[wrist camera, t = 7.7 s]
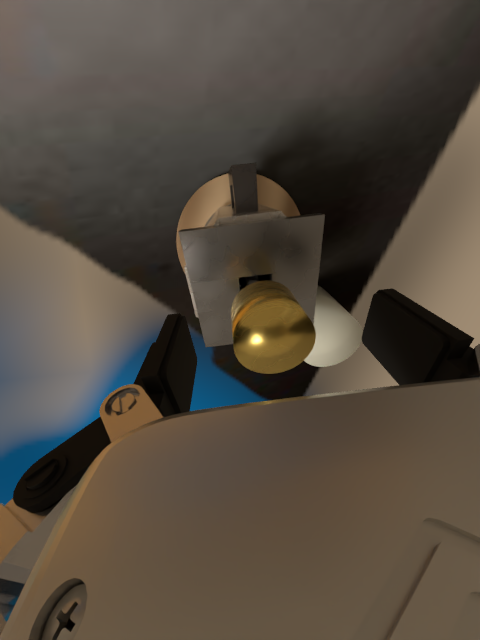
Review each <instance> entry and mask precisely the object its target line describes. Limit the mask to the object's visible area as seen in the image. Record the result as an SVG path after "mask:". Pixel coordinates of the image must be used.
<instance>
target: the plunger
mask: <svg viewBox="0 0 480 640" xmlns="http://www.w3.org/2000/svg"><path fill="white" fill-rule="evenodd" d="M265 275H266V274H264V275H256V276H247V277H239V285H248V286H246V287H245V288H243V289H242V290H241V291H240V292H239V293H238V294H237V296H236V297H235V299H234V300H233V303H232V307H231V321H232V333H233V345H234V352H235V355H236V357H237V359H238V360H239V362H240V363H241V364H242V365H244V366H245V367H246V368H248V369H250V370H252V371H255V372H259V373H265V374H272V373H279V372H283V371H286V370H289V369H291V368H293V367H295V366H297V365H298V364H300V363H301V362H302V361H303V360H305V359H306V357H307V356H308V355H309V354H310V352H311V351H312V349H313V347H314V344H315V340H316V331H315V327H314V325H313V323H312V321H311V320H310V318H309V317H308V316H307V314H306V313H305V311H304V310H303V308H302V307H301V306H300V304H299V303H298V301H297V300H296V298H295V297H294V295H293V294H292V293H291V291H290V290H289V289H288V288H287V287H286V286H284V285H282V284H281V283H278V282H275V281H267V280H266V281H259V280H260V279H262V278H263V277H264V276H265Z"/></svg>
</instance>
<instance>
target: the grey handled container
mask: <svg viewBox="0 0 480 640" xmlns="http://www.w3.org/2000/svg"><path fill="white" fill-rule="evenodd" d="M228 177H229V187H230V196H231V204H229V205H226V206H224V207H219V208H218V210H217V211H216V212H215V213H214V214H213V215H212V216H211V217H210V218H209V220H208V221H207V223H206V224H205V226H204V227H198V228H190V229H182V230H180V231H179V232H178V233H179V237H180V241H181V246H182V250H183V254H184V258H185V262H186V265H185V267H184V269H185V274H186V278H187V282H188V286H189V290H190V294H191V298H192V302H193V306H194V310H195V314H196V317H198V318H199V321H200V325H201V329H202V333H203V338H204V342H205V345H206V347H211V346H219V345H227V344H233V333H232V321H231V307H232V303H233V300H234V299H235V297H236V296H237V294H238V293H239V292H240V291H241V290H242V289H243V288H245V287H246V286H248V285H239V277H247V276H256V275H264V274H266V275H265V276H264V277H263V278H262V279H260V280H259V281H266V280H267V281H275V282H278V283H281V284H282V285H284V286H286V287H287V288H288V289H289V290H290V291H291V293H292V294H293V295H294V297H295V298H296V300H297V301H298V303H299V304H300V306H301V307H302V308H303V310H304V311H305V313H306V314H307V316H308V317H309V318H310V320H311V321H312V323H313V324H314V315H315V305H316V295H317V286H318V276H319V267H320V257H321V248H322V238H323V228H324V219H325V214H320V213H316V214H307V215H299V216H290V217H286V216H285V215H284V214H283V213H282V211H279V210H276V209H273V208H270V207H267V206H264V205H261V204H258V195H257V174H256V163H248V164H240V165H231V167H230V170H229V172H228Z"/></svg>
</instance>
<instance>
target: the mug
mask: <svg viewBox="0 0 480 640" xmlns="http://www.w3.org/2000/svg"><path fill="white" fill-rule="evenodd" d="M313 325H314V327H315V331H316V340H315V344H314V347H313V349H312V351H311V352H310V354H309V355H308V356H307V357H306V359H305V360H304V361H305V362H307V363H308V364H310V365H313V366H318V367H325V366H331V365H335V364H338V363H340V362H342V361H344V360H346V359H347V358H348V357H350V356H351V355H352V354H353V353H354V352H355V351H356V350H357V349H358V347H359V346H360V344H361V341H362V334H363V330H362V327H361V325H360V323H359V322H358V321H357V320H356V319H355V318H354V317H353V316H352V315H350V314H349V313H348V312H347V311H346V310H345V309H344V308H343V307H342V306H341V305H340V304H339V303H338V302H337V301H336V300H335V299H334V298H333V297H332V296H331V295H330V294H328V293H327V292H326V291H325V290H324V289H323V288H322V287H320V286H317V295H316V305H315V315H314V324H313Z"/></svg>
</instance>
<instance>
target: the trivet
mask: <svg viewBox="0 0 480 640" xmlns="http://www.w3.org/2000/svg"><path fill="white" fill-rule="evenodd" d="M257 195H258V204H261V205H264V206H267V207H270V208H273V209H276V210H279V211H282V213H283V214H284V215H285V216H286V217H290V216H299V215H300V213H299V211H298V208H297V206H296V205H295V203H294V201H293V199H292V198H291V197H290V196H289V194H288V193H287V192H286V191H285V190H284V189H283V188H282V187H281V186H280V185H278V184H277V183H275V182H274V181H272V180H270V179H268V178H266V177H264V176H261V175H258V174H257ZM229 204H231V196H230V187H229V177H228V174H224V175H222V176H219V177H216V178H214V179H212V180H211V181H209V182H207V183H206V184H204V185H203V186H202V187H201V188H199V189H198V190H197V191H196V192H195V193H194V194H193V196H192V197H191V198H190V200H189V201H188V202H187V204H186V206H185V208H184V210H183V212H182V214H181V217H180V220H179V224H178V228H177V239H176V241H177V251H178V257H179V260H180V263H181V266H182V268H183V270H184V272H185V269H184V267H185V265H186V262H185V258H184V254H183V250H182V246H181V241H180V237H179V233H178V232H179V231H180V230H182V229H190V228H198V227H204V226H205V224H206V223H207V221H208V220H209V218H210V217H211V216H212V215H213V214H214V213H215V212H216V211H217V210H218V208H219V207H224V206H226V205H229Z"/></svg>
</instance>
